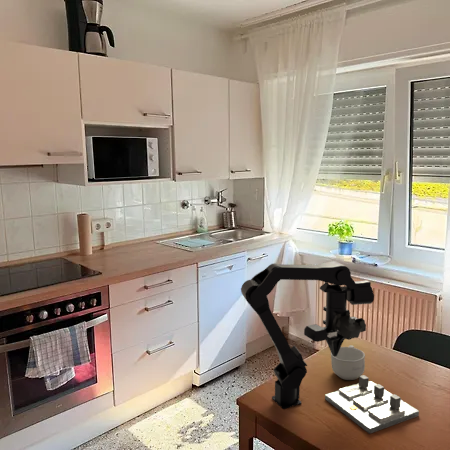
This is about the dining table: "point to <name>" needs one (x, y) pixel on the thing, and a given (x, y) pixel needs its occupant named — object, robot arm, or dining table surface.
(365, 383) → the left handle
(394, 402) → the right handle
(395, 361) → the dining table surface
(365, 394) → the breaker panel
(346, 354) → the teacup
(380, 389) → the handle
